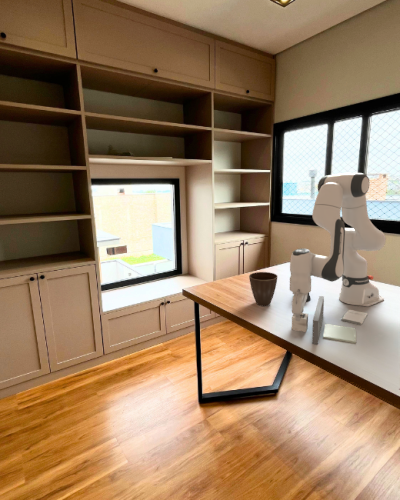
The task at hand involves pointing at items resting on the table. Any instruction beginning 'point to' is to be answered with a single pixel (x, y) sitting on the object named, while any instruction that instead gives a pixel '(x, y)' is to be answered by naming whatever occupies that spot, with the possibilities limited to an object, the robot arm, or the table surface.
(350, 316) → the external hard drive
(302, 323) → the letter cube
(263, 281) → the plant pot
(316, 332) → the screen
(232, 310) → the table surface
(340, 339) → the pad
